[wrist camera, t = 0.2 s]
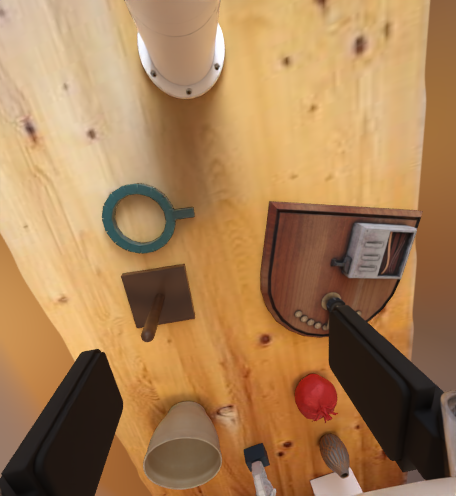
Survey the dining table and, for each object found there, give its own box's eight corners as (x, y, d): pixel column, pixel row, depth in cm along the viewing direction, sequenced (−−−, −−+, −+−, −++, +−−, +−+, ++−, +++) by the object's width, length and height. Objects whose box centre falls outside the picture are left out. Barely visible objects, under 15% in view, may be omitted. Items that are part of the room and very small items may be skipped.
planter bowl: (183, 379, 56) (179, 426, 46) (231, 409, 61) (237, 459, 50) (139, 418, 58) (126, 472, 48) (188, 445, 63) (186, 499, 53)
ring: (96, 189, 41) (92, 189, 39) (188, 176, 42) (187, 176, 40) (116, 254, 45) (113, 258, 43) (199, 242, 46) (199, 244, 44)
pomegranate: (282, 387, 60) (296, 425, 51) (312, 362, 59) (332, 397, 50) (307, 404, 63) (324, 443, 54) (336, 381, 61) (358, 417, 53)
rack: (122, 273, 46) (93, 312, 34) (184, 263, 47) (178, 298, 34) (138, 324, 50) (117, 376, 38) (195, 315, 51) (192, 363, 38)
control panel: (441, 215, 44) (394, 349, 53) (417, 210, 48) (378, 333, 58) (277, 205, 40) (257, 351, 49) (269, 201, 45) (252, 334, 54)
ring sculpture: (250, 462, 68) (259, 515, 58) (241, 445, 66) (249, 498, 55) (268, 455, 68) (281, 507, 58) (260, 438, 65) (271, 489, 55)
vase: (330, 448, 70) (348, 486, 62) (311, 444, 68) (326, 482, 60) (343, 432, 68) (363, 469, 60) (324, 427, 67) (341, 464, 58)
